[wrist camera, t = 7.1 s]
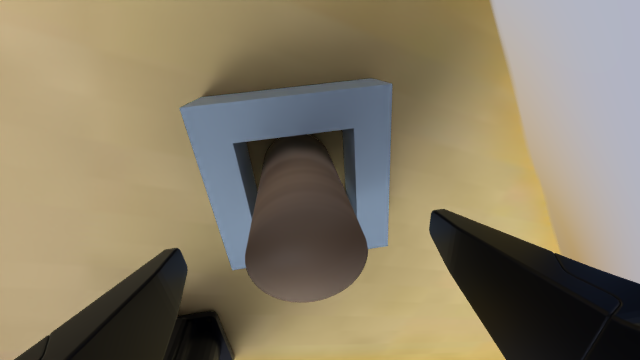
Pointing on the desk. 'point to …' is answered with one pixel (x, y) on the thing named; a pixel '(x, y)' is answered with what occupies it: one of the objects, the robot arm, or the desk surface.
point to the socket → (290, 120)
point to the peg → (303, 225)
